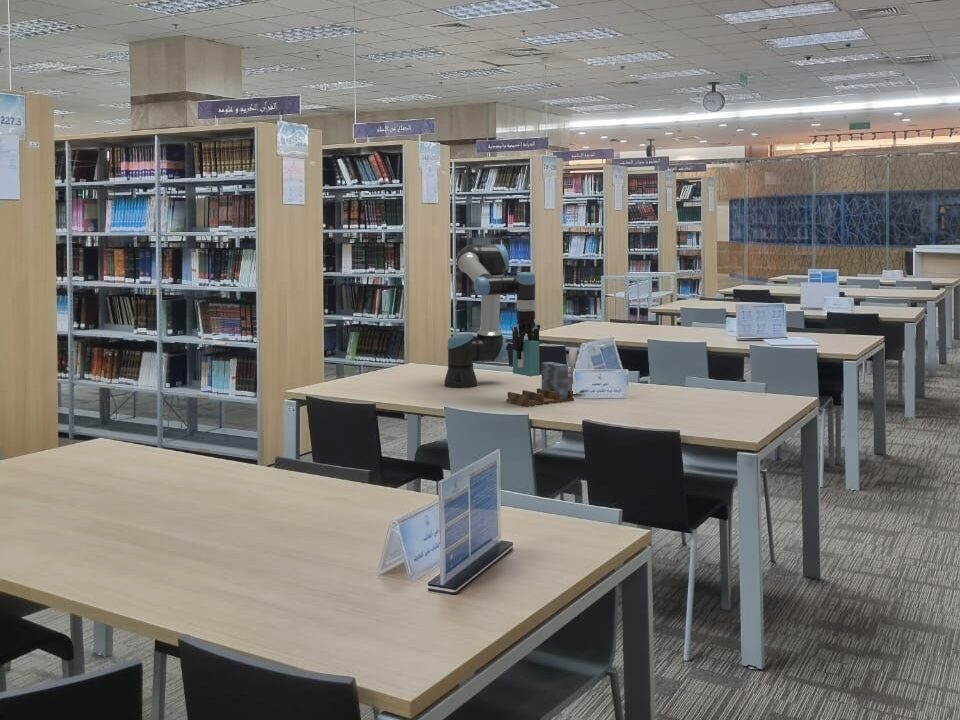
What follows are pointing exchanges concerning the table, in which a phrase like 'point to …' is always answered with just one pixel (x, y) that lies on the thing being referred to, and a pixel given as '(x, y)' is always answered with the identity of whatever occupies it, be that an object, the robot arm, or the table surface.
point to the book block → (528, 359)
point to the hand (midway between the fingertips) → (525, 366)
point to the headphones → (572, 360)
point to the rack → (546, 388)
